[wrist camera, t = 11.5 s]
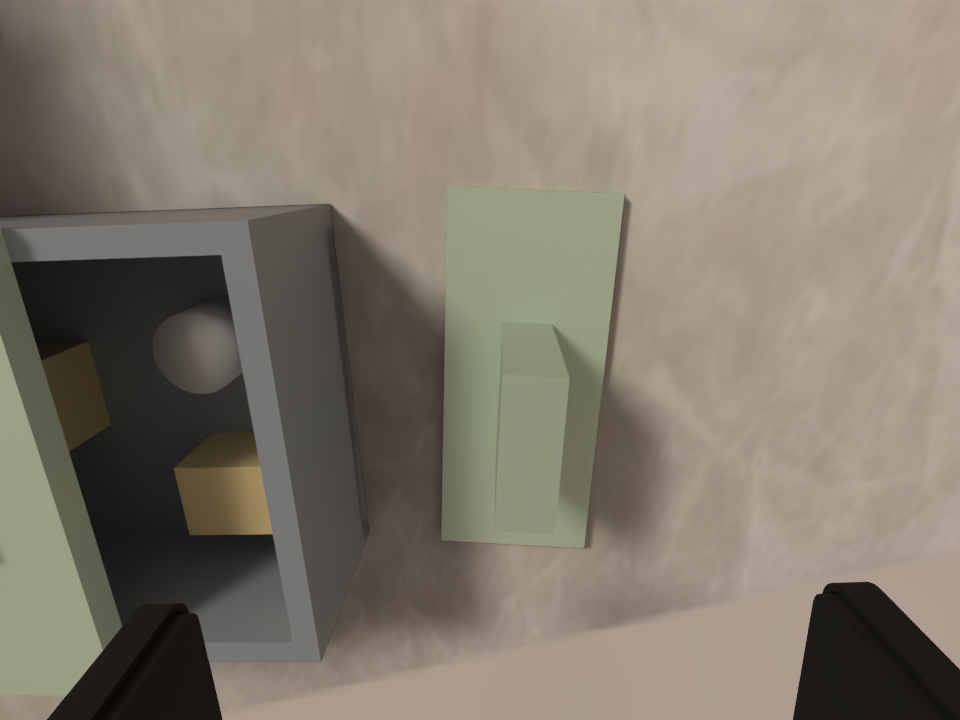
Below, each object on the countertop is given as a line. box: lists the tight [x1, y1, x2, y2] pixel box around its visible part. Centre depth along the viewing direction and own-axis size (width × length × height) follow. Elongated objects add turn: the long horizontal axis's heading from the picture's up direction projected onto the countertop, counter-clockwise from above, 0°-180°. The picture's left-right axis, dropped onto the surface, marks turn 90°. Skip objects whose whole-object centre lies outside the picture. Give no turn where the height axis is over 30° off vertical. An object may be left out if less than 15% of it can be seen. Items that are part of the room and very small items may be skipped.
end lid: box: [441, 186, 625, 548], centre depth 17 cm, size 13×5×6 cm, turn 178°
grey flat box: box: [0, 204, 369, 662], centre depth 17 cm, size 12×16×6 cm
